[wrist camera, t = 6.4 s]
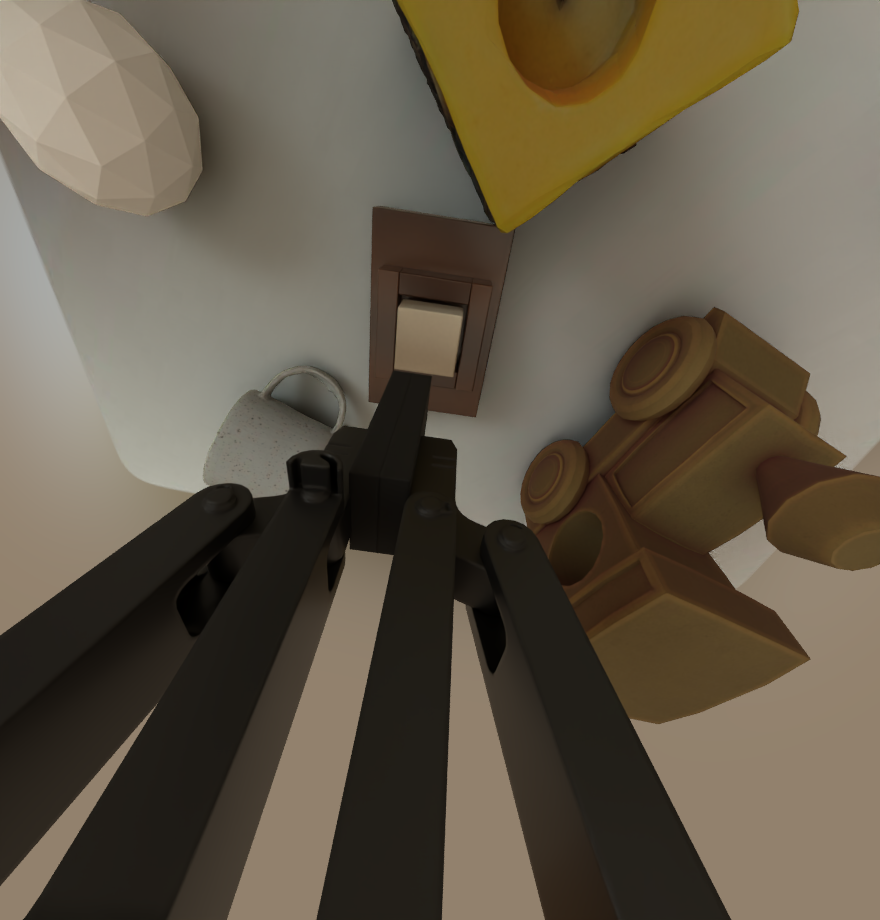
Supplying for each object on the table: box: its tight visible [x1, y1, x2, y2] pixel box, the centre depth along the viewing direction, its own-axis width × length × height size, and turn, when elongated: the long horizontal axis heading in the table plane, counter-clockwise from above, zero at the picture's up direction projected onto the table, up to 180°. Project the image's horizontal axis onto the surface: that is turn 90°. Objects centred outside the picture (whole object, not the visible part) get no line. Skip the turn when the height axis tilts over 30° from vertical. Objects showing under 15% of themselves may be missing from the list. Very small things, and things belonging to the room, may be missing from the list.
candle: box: [392, 0, 799, 233], centre depth 14 cm, size 10×10×10 cm
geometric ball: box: [0, 0, 203, 216], centre depth 18 cm, size 8×8×8 cm
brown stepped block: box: [369, 206, 515, 417], centre depth 24 cm, size 12×8×4 cm, turn 173°
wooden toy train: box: [520, 307, 880, 724], centre depth 24 cm, size 20×11×17 cm, turn 152°
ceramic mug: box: [203, 366, 346, 498], centre depth 28 cm, size 11×8×8 cm
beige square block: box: [394, 299, 463, 377], centre depth 22 cm, size 4×4×2 cm
